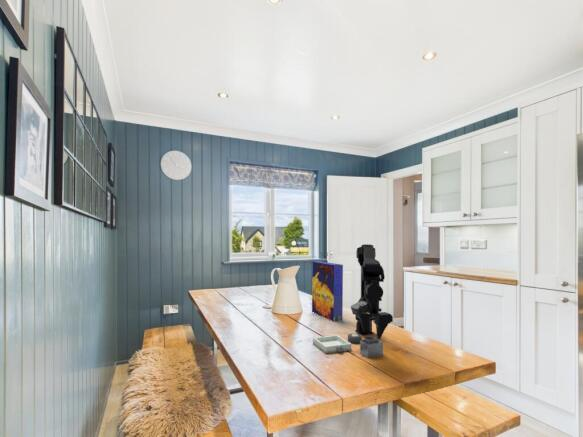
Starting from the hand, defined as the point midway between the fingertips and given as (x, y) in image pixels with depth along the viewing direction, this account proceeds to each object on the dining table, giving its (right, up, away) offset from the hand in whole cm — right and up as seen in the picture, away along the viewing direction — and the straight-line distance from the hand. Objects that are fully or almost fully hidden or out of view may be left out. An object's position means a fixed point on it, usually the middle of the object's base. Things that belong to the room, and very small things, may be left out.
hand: (371, 335), depth 127 cm
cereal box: (-11, -10, +56) cm, 58 cm away
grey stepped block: (0, -7, 0) cm, 7 cm away
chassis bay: (-15, -7, +7) cm, 18 cm away
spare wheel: (-4, -8, +14) cm, 17 cm away
